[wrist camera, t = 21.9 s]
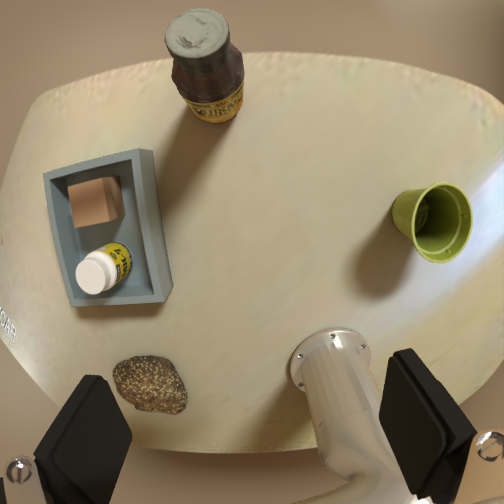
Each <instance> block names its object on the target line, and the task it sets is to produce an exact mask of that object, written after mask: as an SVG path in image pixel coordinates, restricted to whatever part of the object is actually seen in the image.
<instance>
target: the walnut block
mask: <svg viewBox="0 0 504 504" xmlns="http://www.w3.org/2000/svg"><path fill="white" fill-rule="evenodd" d="M68 193H69V199H70V205H71V210H72V216H73V221H74V226H75V228H78V227H83V226H88V225H93V224H98V223H103V222H108V221H111V220H114V219H116V218H118V217H121V216H123V215H125V214H126V212H125V207H124V201H123V195H122V189H121V182H120V176H113V177H104V178H99V179H95V180H91V181H87V182H84V183H80V184H76V185H73V186H69V187H68Z"/></svg>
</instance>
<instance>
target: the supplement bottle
mask: <svg viewBox="0 0 504 504" xmlns="http://www.w3.org/2000/svg"><path fill="white" fill-rule="evenodd" d="M133 262H134V260H133V255H132V253H131V251H130V249H129V248H128V247H127V246H126V245H125V244H123V243H121V242H111V243H109V244H107V245H105V246H103V247H101V248H99V249H97V250H95V251H93V252H91V253H89V254H88V255H87V256H86V257H85V259H84V260H83V261H82V262H80V263H79V265H78V266H77V268H76V280H77V283H78V285H79V286H80V288H81V289H82V290H83V291H85V292H86V293H88V294H98V293H100V292H101V291H105V290H108V289H110V288H112V287H113V286H114V285H115V284H116V283H117V282H119V281H120V280H121V279H122V278H123V277H125V276H126V275H127V274H128V273H129V272H130V271H131V269H132V267H133Z"/></svg>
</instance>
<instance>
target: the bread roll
mask: <svg viewBox="0 0 504 504" xmlns="http://www.w3.org/2000/svg"><path fill="white" fill-rule="evenodd" d="M113 379H114V381H115V383H116V387H117V391H118V392H119V394H120V395H121V396H122V397H123V398H124V399H126V400H127V401H129V402H130V403H133V404H134V405H135V408H136V409H137V410H138V409H139V410H143V411H149V412H151V411H155V412H166V413H170V414H171V415H172V414H173V415H175V414H179V413H180V412H182V411H183V410H184V409H185V408H186V404H187V392H186V389H185V387H184V383H183V382H182V380H181V378H180V377H179V375H178V373H177V371H176V369H175V367H174V365H173V364H172V363H171V361H170V360H168V359H166V358H163V357H156V356H151V355H149V356H141V357H138V356H135V357H132V358H130V359H129V360H124V361H122V362H119V363H118V364H117V365H116V366H115V368H114V369H113Z"/></svg>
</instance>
